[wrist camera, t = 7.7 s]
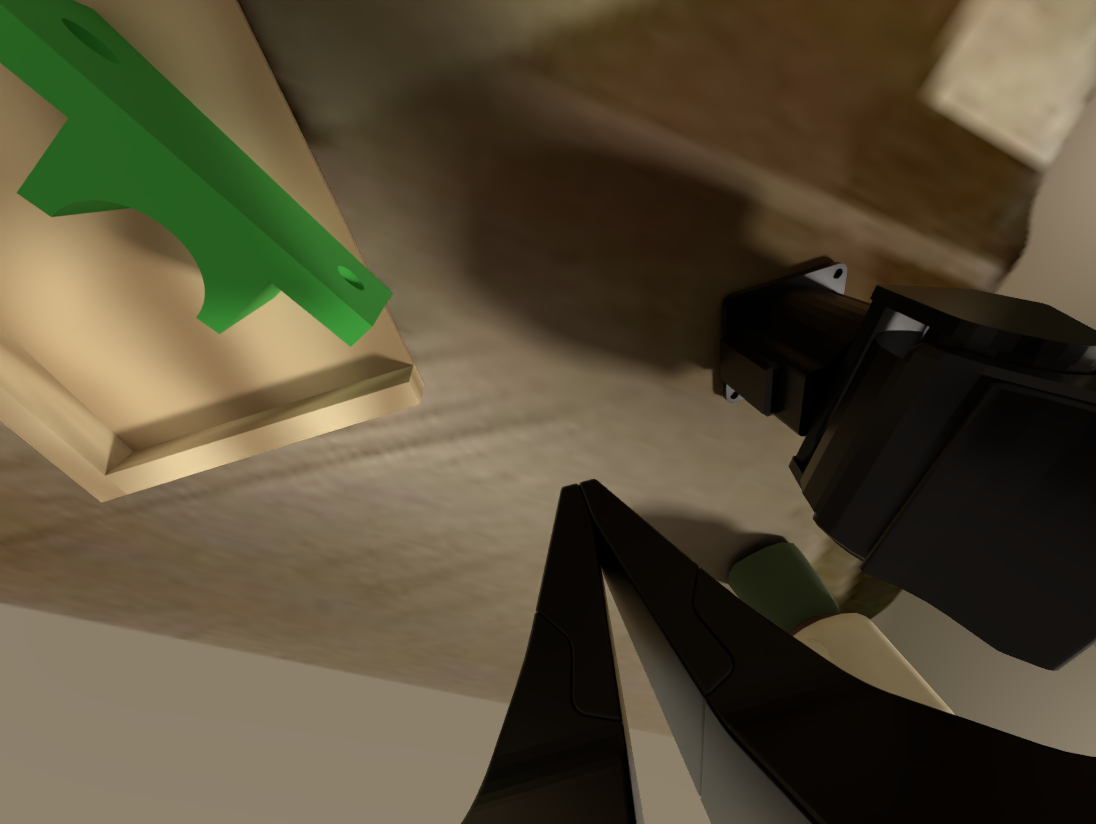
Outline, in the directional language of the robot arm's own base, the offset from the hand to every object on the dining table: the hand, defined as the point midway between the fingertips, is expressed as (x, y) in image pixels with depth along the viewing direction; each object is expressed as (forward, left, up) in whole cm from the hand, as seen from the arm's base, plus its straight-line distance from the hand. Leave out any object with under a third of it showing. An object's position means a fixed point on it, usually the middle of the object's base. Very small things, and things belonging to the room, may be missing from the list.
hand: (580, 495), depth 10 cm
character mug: (-13, +26, -12) cm, 31 cm away
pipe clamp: (+9, -8, -12) cm, 17 cm away
